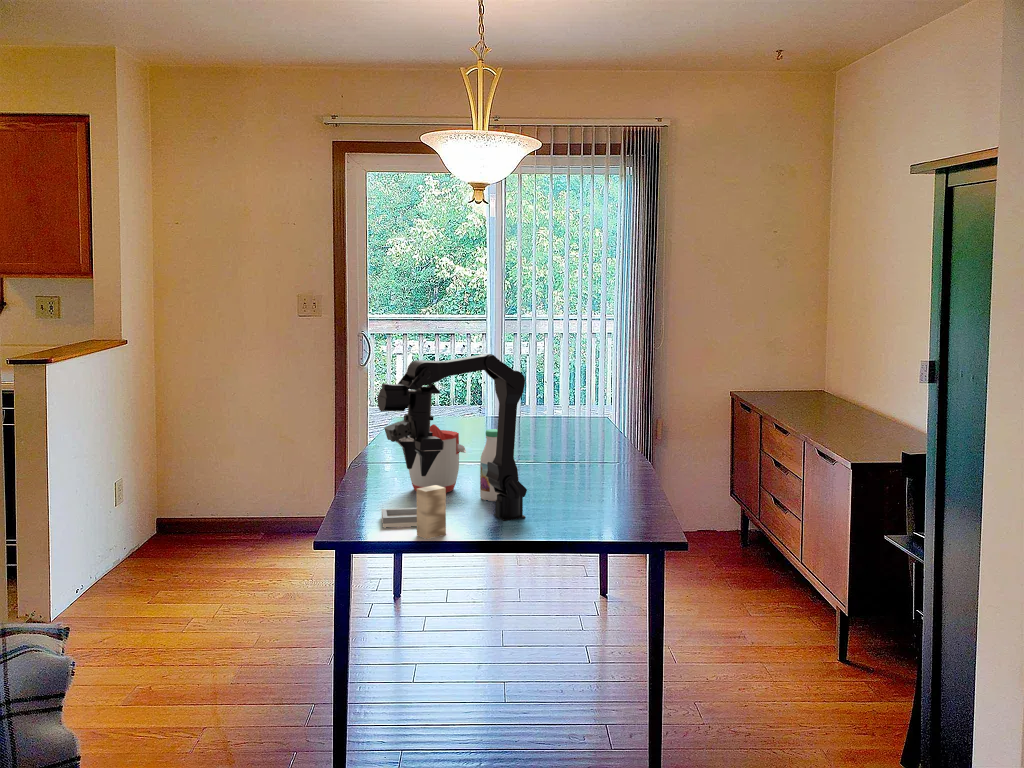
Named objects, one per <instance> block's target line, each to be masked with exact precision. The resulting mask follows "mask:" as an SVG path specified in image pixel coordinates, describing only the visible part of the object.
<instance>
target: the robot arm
mask: <svg viewBox="0 0 1024 768" xmlns="http://www.w3.org/2000/svg"><path fill="white" fill-rule="evenodd" d="M409 363H410V364H409V365H408V366H407V370H406V372H405V374H404V375H403V376H402V378H401V379H400V380H399V382H398V383H397V384H389V383H382V384H381V389H380V390H379V393H378V395H377V406H378V407H377V408H378V409H379V411H380V412H404V411H405V410H406V409H407V413H404V415H403V420H400V421H396V422H394V423H392V424H389V425H386V426H384V432H385V435H386V439H387V440H388V441H390V442H391V443H392V442H393V443H395V442H396V443H397V444H398V445H399V447H401V449H402V452H403V456H404V461H405V464H406V469H407V470H409V469H412V466H413V464H414V461H415V458H416V454H417V453H418V454H419V456H420V469H421V476H426V475H427V473H428V471H429V469H430V467H431V465H432V463H433V462H434V460H435V458H436V457H437V455H438V454H439V453H440V452H441V450H443V447H444V442H443V441H442V440H441V439H440V438H438V437H435V436H433V433H432V432H430V426H431V421H434V416H433V415H432V414H431V412H432V400H433V399H432V398H433V396H432V395H436V394H437V395H439V394H440V393H441V390H439V389H438V388H437V387H436V385H435V383H438V382H440V381H442V380H444V379H445V378H448V377H451V376H457V375H463V374H468V373H474V372H480V371H484V372H485V373H486V375H488V376H489V377H490V378H491V379H492V380H493V381H494V391H495V394H496V397H497V400H498V413H497V414H498V417H497V418H498V419H497V429H498V430H497V445H496V456H495V458H494V460H493V462H488V463H487V467H488V471H487V475H486V477H488V481H489V483H490V484H491V485H492V486H493V487H494V490H495V492H497V493H499V494H497V500H496V501H494V502H495V503H494V504H495V505H494V506H495V507H494V508H495V509H494V513H493V516H495V517H496V518H498V519H499V520H502V521H504V522H507V521H508V522H509V521H514V520H522V519H526V515H523V514H524V513H523V512H524V511H523V509H524V508H523V506H524V504H523V503H524V502H523V501H524V499H523V498H525V497H526V494H527V492H528V489H527V488H526V487H525V486H524V485H523V484H522V483H521V481H519V471H518V467H517V466H518V465H517V463H516V461H515V457H514V456H515V443H516V431H517V430H516V428H517V412H518V404H519V402H520V400H521V398H522V396H523V394H524V390H525V384H526V378H525V377H526V376H524V374H523V373H522V372H520V371H518V370H515V369H513V368H512V367H510V366H509V365H507V364H506V363H504V362H503V361H501V360H500V359H498V358H497V357H496V356H495V354H491V353H486V352H483V353H482V352H481V353H480V354H476V355H471V356H464V357H459V358H453V359H452V358H451V359H447V360H423V359H421V360H420V359H418V360H417V359H416V360H413V361H411V362H409Z"/></svg>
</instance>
